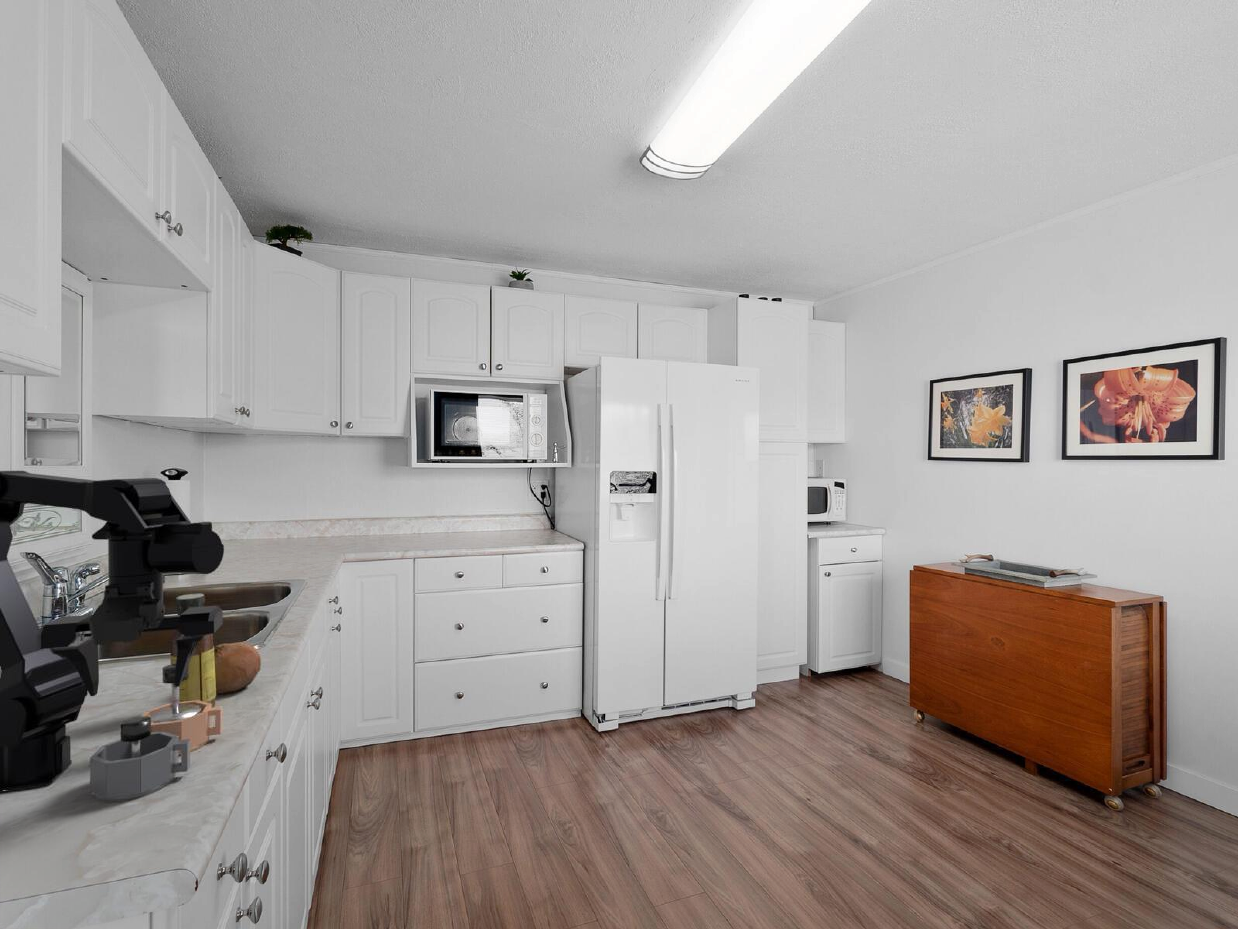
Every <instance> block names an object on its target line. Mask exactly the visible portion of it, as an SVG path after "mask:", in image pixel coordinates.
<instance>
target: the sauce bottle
mask: <svg viewBox="0 0 1238 929" xmlns="http://www.w3.org/2000/svg"><path fill="white" fill-rule="evenodd" d="M205 602H206V598H205V594H204V593H189V594H183V595H179V596H178V597H176V598H175V607H176V608H177V615H181V614H182V613H183V612H185V611H186V610H187V609H188V608H190V607H204V603H205ZM213 634H214V633H212V634H209V635H208V636H207V637H206V638H205V639H204V640H202V641H199V643H198V645H197V646H196V648H195V650H194V652H193V655H192V657H191V660H190V662H189V678H188V679H187V680H184V681H182V683H181V685H180V686H179V702H185V701H194V700H199V701H203V702H207V703H211V704H212V708H214V707H215V706H216V698H217V692H216V682H215V660H214V647H215V646H214V641H213V640H214V638H213V637H214V635H213ZM181 635H182V634H181V633H180V632H179V631H178V629H174V630H173V633H172V634H171V637H170V649H169V650H170V651H169V656H170V659H169V660H170V665H171V664H176V660H177V644H176V640H177V639H178V638H179V637H180V636H181ZM170 684H171V686H172V683H170Z"/></svg>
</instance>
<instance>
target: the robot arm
mask: <svg viewBox="0 0 1238 929" xmlns="http://www.w3.org/2000/svg"><path fill="white" fill-rule="evenodd" d="M26 504H30V505H39V506H46V507H47V506H48V507H55V508H56V507H58V508H64V509H65V508H66V509H74V510H75V509H76V510H79V511H82V512H85V513H86V514H87V515H89V516H90V517H91V518H94V519H98V520H100V521H103V522H105V523H104V525H103V526H102V527H101V528H99V529H97V530H96V531H95V532H94V533H92V535H91V538H92V539H93V540H95V541H97V540H99V541H100V540H101V541H102V540H105V541H107V544H108V547H107V552H108V553H107V556H108V557H107V558H108V559H107V561H108V562H107V564H108V565H107V566H108V569H107V572H108V573H107V574H108V582H107V583H108V584H107V585H105V586H104V588H105V589H104V591H103V594H104V595H103V600H102V602H101V603H100V605H98V606H97V608H96V609H95V611H94V612H93V613H92V614H84V615H80V614H79V615H69V616H60V617H57V618H56V619H53V620H52V621H49V622H47V623H46V624H44V625H43V626H42V627H41V628H40V626H39V624H38V622H37V620H36V618H35V616H34V613H33V611H32V609H31V607H30V604H29V603H28V599H26V596H25V594H24V592H23V590H22V587H21V585H20V583H19V582H18V579H17V577H16V575H15V573H14V571H13V568H12V566H11V564H10V562H9V559H8V554H9V552H10V548H11V545H12V542H13V540H14V535H13V532H12V527H11V526H12V525H13V524H14V523H15V522H16V521H18V520H19V519H20V518H21V517H22V516H23V515H24V511H25V510H24V509H25V505H26ZM224 553H225V546H224V544H223V543H222V540H221V537H220V535H219V534H218V533H217V532H215V531H213V523H212V521H199V522H191V520H190V519H189V517H188V515H186V513H185V512H184V510H183V508H181V506H180V505H179V504H178V502H177V501H176V499H175V498H174V496H173V495H172V493H171V491H170V488H169V486H167V482H166V481H164V480H163V479H161V478H156V477H147V478H146V477H145V478H116V479H115V478H112V479H101V480H99V479H98V480H92V479H84V478H76V477H68V476H67V477H66V476H60V475H59V476H56V475H49V474H42V473H41V474H40V473H31V472H28V471H26V470H0V672H1V673H0V791H3V790H10V791H15V790H22V789H29V788H37V787H43V786H44V787H45V786H49V785H51V784H52V783H54V782H55V781H56V780H57V779H58V778H59V777H60V776H61V775H62V774H63V773H64V772H65V771H66V770H67V769H68V768H69V767H70V766H71V765H72V764H73V763H72V761H73V760H72V759H71V754H72V753H71V736H70V735H67V725H66V724H70V723H73V722H75V721H77V720H78V718H79V715H80V712H81V709H82V706H83V705H84V703H85V699H86V697H87V696H88V695H89V696H90V697H96V695H98V691H99V690H98V689H99V683H100V673H99V670H100V668H99V667H100V666H99V646H102V645H103V646H104V645H106V644H110V643H121V642H122V643H132V642H136V641H137V640H139V639H140V638H142V636H143V633H148V632H163V631H172V630H173V631H174V630H175V629H178V631H179V632H180V633H181V634H182V635H181V636H180V637H179V638H178V639H177V640H176V644H177V660H176V669H175V687H179V686H180V685H181V683H182V680H183V677H184V675H185V672H186V670H187V667H188V665H189V662H190V660H191V657H192V655H193V652H194V650H195V648H196V646H197V645H198V643H199V641H202V640H204V639H205V638H206V637H207V636H208V635H209V634H215V633H216V632H217V631H218V630H219V628H220V627H221V626H223V624H224V621H223V620H224V616H223V615H224V613H223V609H222V608H221V607H220V606H218V605H207V606H206V605H205V606H204V605H203V606H204V607H190V608H188V609H187V610H186V611H185V612H183V613H182V614H181V615H178V614H175V615H174V614H173V615H165V613H166V606H165V604H164V584H166V576H165V575H164V574H168V575H169V574H175V575H177V574H180V575H181V574H182V575H209V574H212V573H214V572H215V571H216V570H217V569H218V568H219V566H220V565H221V562H222V560H223V557H224ZM60 655H61V656H60ZM62 656H63V657H62ZM3 792H4V791H3Z"/></svg>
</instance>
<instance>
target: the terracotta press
mask: <svg viewBox="0 0 1238 929" xmlns="http://www.w3.org/2000/svg"><path fill="white" fill-rule="evenodd" d="M186 704H194V705H199V706H200V707H201V713H199V714H196V715H193V716H191V717H188V718H185V719H182V720H178V721H170V722H161V723H153V722H151V733H153V732H161V731H163V732H167V733H170V734H173V735H177V736H178V741H180V740H186V739H190V753H191V752H194V751H196V750H198V749H200V748H202V747H204V746H205V745H206V744H207V743H208V742H210V738H211V737H210V736H218V735H222V733H223V728H224V727H223V715H224V714H223V710H224V709H223V707H224V706H223V705H220V706H216V707H215V706H214V707H213V708H212V704H211V703H207V702H203V701H199V700H194V701H185V702H179V705H186ZM168 707H172V702H170V703H167V704H164V705H160V706H158V707H155V708H152V709H149V710H146V711H144V712H143V713H142V714H141V716H140V717H150V715H151V714H153V713H154V712H157V711H159V710H161V709H164V708H168ZM213 716H214V726H213V724H212V723H213ZM179 756H181V750H178V757H179Z"/></svg>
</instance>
